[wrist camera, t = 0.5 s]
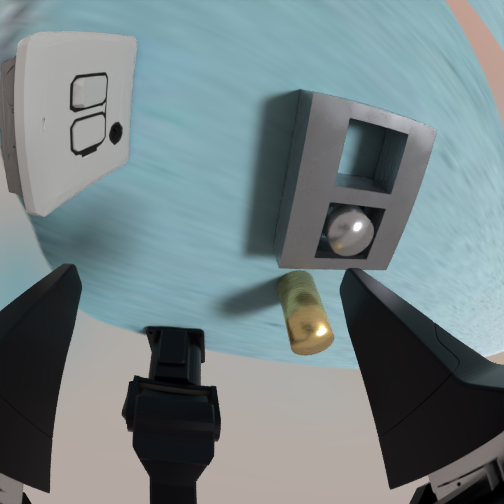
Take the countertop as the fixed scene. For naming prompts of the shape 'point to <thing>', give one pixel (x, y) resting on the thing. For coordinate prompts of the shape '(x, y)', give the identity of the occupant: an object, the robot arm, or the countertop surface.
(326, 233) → the silver round knob
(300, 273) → the gold domed cylinder
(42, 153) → the electrical switch
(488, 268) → the countertop surface
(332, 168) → the jig
